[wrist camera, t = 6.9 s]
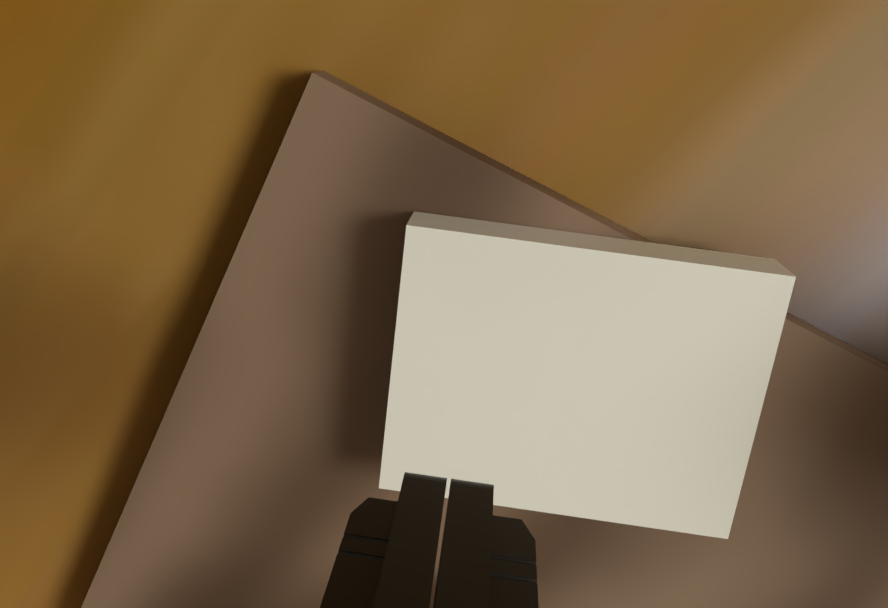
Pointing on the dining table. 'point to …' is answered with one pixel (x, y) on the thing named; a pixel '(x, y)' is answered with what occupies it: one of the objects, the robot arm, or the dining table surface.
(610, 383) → the tile
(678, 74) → the dining table surface
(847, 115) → the dining table surface
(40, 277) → the dining table surface
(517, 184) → the board
